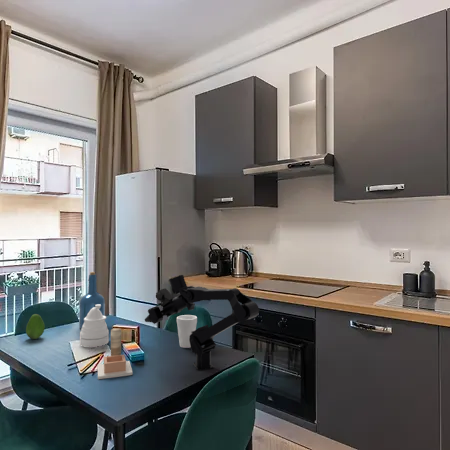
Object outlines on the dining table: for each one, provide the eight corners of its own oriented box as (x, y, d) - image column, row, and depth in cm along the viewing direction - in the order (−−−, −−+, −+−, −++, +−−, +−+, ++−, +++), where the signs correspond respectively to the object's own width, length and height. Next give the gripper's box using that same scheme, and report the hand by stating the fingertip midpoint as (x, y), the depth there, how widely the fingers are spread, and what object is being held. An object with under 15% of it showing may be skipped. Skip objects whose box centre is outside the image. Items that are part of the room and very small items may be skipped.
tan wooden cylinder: (121, 363, 145) (121, 330, 145) (110, 364, 143) (111, 331, 143) (120, 360, 148) (120, 328, 149) (110, 361, 147) (110, 329, 147)
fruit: (35, 341, 171) (35, 316, 171) (22, 340, 174) (22, 315, 174) (48, 337, 179) (48, 312, 179) (35, 335, 181) (35, 311, 181)
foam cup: (198, 342, 171) (198, 315, 171) (195, 349, 162) (195, 320, 162) (178, 342, 172) (179, 314, 172) (174, 348, 163) (174, 319, 163)
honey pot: (114, 340, 174) (114, 303, 174) (96, 348, 162) (96, 308, 162) (92, 337, 179) (92, 301, 179) (73, 345, 166) (73, 306, 167)
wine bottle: (102, 330, 191) (102, 273, 192) (76, 331, 190) (76, 273, 190) (107, 323, 205) (107, 270, 205) (82, 324, 203) (83, 270, 203)
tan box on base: (132, 374, 133) (132, 362, 134) (97, 379, 129) (98, 366, 129) (129, 363, 145) (129, 352, 145) (97, 367, 141) (97, 355, 141)
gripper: (182, 281, 159) (157, 295, 166) (156, 290, 142) (129, 305, 149) (193, 305, 157) (167, 318, 164) (168, 316, 141) (140, 330, 147)
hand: (151, 317), depth 156 cm, fingers open, 9 cm apart
